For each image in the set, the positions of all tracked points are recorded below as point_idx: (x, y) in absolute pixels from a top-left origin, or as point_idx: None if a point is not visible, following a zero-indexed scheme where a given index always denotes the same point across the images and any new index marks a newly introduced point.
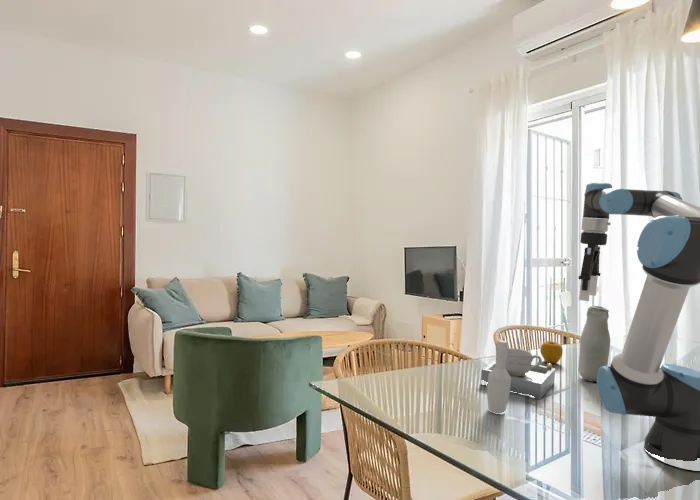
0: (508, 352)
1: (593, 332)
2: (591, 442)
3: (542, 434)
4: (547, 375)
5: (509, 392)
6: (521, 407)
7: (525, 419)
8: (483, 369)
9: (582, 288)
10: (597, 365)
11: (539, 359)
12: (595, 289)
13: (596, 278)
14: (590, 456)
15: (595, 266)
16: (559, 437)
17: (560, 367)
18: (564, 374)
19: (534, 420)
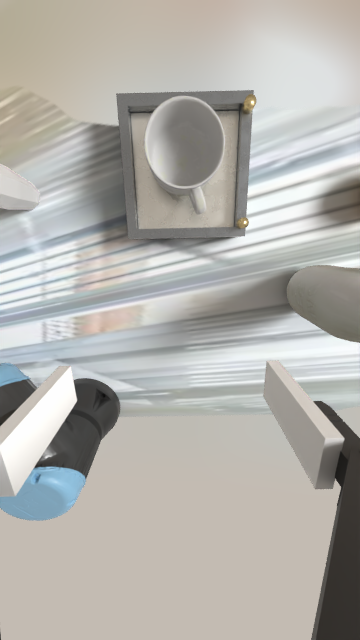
0: (208, 117)
1: (340, 310)
2: (45, 331)
3: (13, 277)
4: (187, 234)
5: (9, 209)
6: (79, 223)
7: (40, 243)
8: (118, 97)
9: (3, 418)
10: (295, 306)
11: (196, 209)
12: (275, 415)
13: (307, 470)
14: (7, 336)
15: (321, 591)
16: (25, 297)
17: (350, 221)
18: (307, 239)
19: (48, 255)
